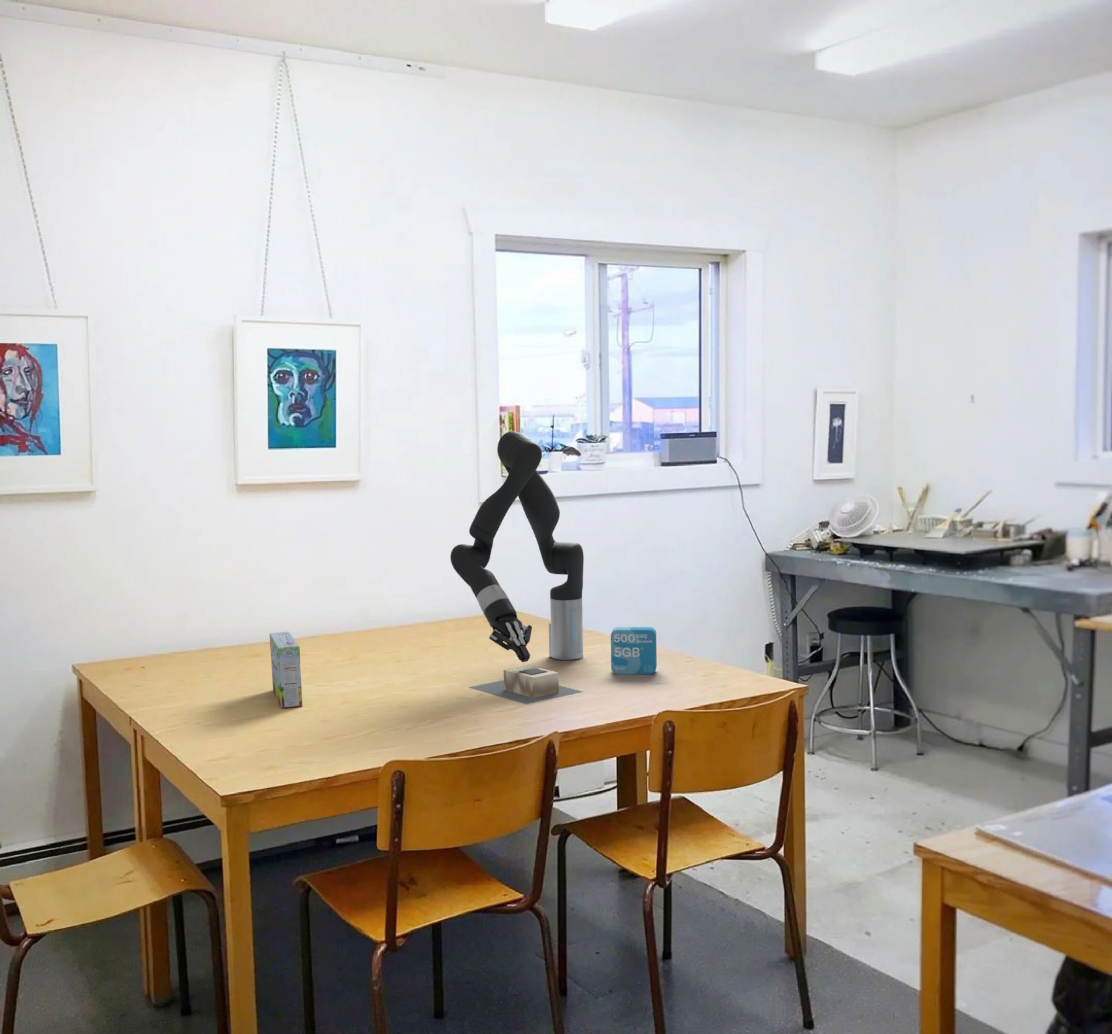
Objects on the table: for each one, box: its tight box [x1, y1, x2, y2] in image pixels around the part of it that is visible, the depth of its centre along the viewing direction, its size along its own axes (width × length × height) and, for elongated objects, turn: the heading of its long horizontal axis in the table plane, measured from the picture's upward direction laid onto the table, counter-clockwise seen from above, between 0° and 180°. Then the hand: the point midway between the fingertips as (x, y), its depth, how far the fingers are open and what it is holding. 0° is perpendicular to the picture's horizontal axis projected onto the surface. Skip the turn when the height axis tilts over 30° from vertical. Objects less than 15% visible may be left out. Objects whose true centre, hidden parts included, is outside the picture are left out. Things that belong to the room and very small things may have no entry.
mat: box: [468, 679, 584, 705], centre depth 273 cm, size 24×18×1 cm
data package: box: [610, 626, 658, 675], centre depth 291 cm, size 12×4×12 cm, turn 83°
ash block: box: [503, 664, 560, 698], centre depth 271 cm, size 5×8×12 cm
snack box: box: [269, 631, 303, 710], centre depth 270 cm, size 21×6×15 cm, turn 21°
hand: (526, 659), depth 272 cm, fingers closed
